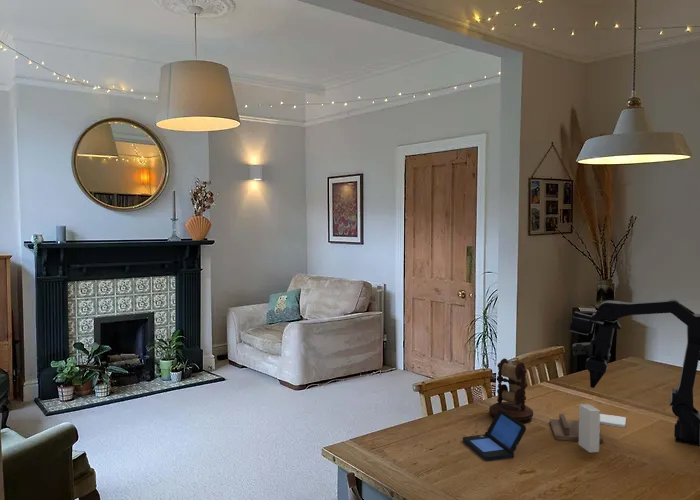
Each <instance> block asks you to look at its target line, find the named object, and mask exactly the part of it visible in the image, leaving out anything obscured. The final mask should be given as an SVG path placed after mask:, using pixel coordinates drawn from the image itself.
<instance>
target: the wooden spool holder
mask: <svg viewBox="0 0 700 500" xmlns="http://www.w3.org/2000/svg"><path fill="white" fill-rule="evenodd" d="M496 365H497V370H498V372H497V376H496V381H497V383H498V384H497V388H498V389H496V392H497V400H496V401H497V402H495V403H494V404H491V405H490V406H489V407H488V409H489V410H488V412H489V415H490V417H495V415H496V414H497V412H498V411H499V410H502V411H504V412H505V413H507V414H508V415H510V416H511V417H513V418H514V419H516V420H517V421H525V420H530V419H531V418H533V416H534V410H533V409H532V408H531V407H529V406H527V405H526V404H525V403H526V401H527V397H526V389H527V387H528V383H527V382H526V376H527V374H526V373H527V372H528V371H527V369H526V366H525V364H524V362H521V361H520V362H518V363H517V365H515V364H510V363H509V360H508V359H507V358H502V359H501V360H500V362H499V363H497V364H496ZM503 383H504V384H503ZM505 383H507V384H508V386H507V384H505Z"/></svg>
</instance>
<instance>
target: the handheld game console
mask: <svg viewBox="0 0 700 500" xmlns="http://www.w3.org/2000/svg"><path fill="white" fill-rule="evenodd" d="M493 417H494V418H493V420H492V421H491V423H490V425H489V427H488V428H487V430H486V431H485V432H484V433H483V434H477V435H476V434H475V435H468V436H464V437H462V442H463V443H465V445H467V446H468V447H469V448H470V449H471V450H472V451H474V452H475V453H476V454H477V455H478V456H479V457H480V458H482V459H483V460H485V461H489V460H490V461H496V460H497V461H498V460H502V459H503V460H504V459H511V458H512V459H514V457H515V453H514V452H515V451H516V449H517V447H518V446H519V444H520V442H521V441H522V438H523V436H524V435H525V433H526V430H527V427H526V424H523V423H522V421H520V420H516V419H514V418H513V417H511V416H510V415H508V414H507V413H505V412H504V411H502V410H499V411H498V412H497V414H496V415H495V416H493Z"/></svg>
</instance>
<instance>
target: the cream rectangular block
mask: <svg viewBox="0 0 700 500" xmlns="http://www.w3.org/2000/svg"><path fill="white" fill-rule="evenodd" d="M578 407H579V409H578V412H579V413H578V421H579V441H578V445H579V446H580V448H582V449H584V450H585V451H587V452H588V453H590V454H591V453H599V452H600V443H599V434H601V432H600V430H601V429H600V428H601V426H600V425H601V424H600V414H601V410H599V409H598V408H596V407H595V406H593V405H591V404H589V403H583V404H582V403H581V404H579V406H578Z"/></svg>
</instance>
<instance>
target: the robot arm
mask: <svg viewBox="0 0 700 500" xmlns="http://www.w3.org/2000/svg"><path fill="white" fill-rule="evenodd" d="M653 314H655V315H656V314H657V315H659V314H671V315H673V316H674V317H676V318H677V319H679V321H681V322H682V323H683V324H684V325H686V341H687V342H686V348H685V351H684V352H685V353H684V358H683V363H682V366H681V367H682V368H681V373H680V378H679V384H678V386H677V387H676V388H674V387H671V395H670V397H669V401H668V402H669V406H670V407H671V411H672V413H673V415H674V416H676V417H677V420H676V422H675V424H674V438H675V439H674V442H678V443H684V444H688V445H692V446H697V447H700V411H699V410H698V409H696V407H694V386H695V379H696V375H697V370H698V365H699V359H700V313H695V312H694V311H693V310H691V309H690V308H688V307H686V306H685V305H683V304H682V303H681V302H680V301H679V300H677V299H675V298H670V299H664V300H663V299H662V300H651V301H650V300H649V301H635V302H634V301H633V302H625V301H620V300H610V299H609V300H603V301H602V302H601V303H600V305H599V306H598V310H596V311H595V312H593V313H592V315H591V314H590V315H589V314H586V313H582V312H579V311H574V312H573V316H572V319H571V322H570V325H569V332H572V333H575V334H580V335H586V336H589V334H592V333H593V335H592V339H591V340H590V342H578V343H573V344H572V350H571V351H572V352H573V356H579V355H587V357H588V358H586V361H585V364H584V367H585V368H586V370H587V371H588V372H589V384H590V385H589V387H590V388H592V389H595V388H596V387H597V386H596V385H598V384H599V382H600V380H601V379H602V377H603V376H604V375H605V374H606V371H607V369H608V366H609V365H608V364H609V362H610V358H611V352H610V351H611V348H612V343H613V337H614V333H615V329H616V330H621V328H622V325H621V324H620V323H619V321H618V320H617V319H620V318H621V319H622V318H625V317H628V316H638V315H639V316H640V315H641V316H642V315H653ZM612 320H613V321H612ZM593 329H594V331H593Z"/></svg>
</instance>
